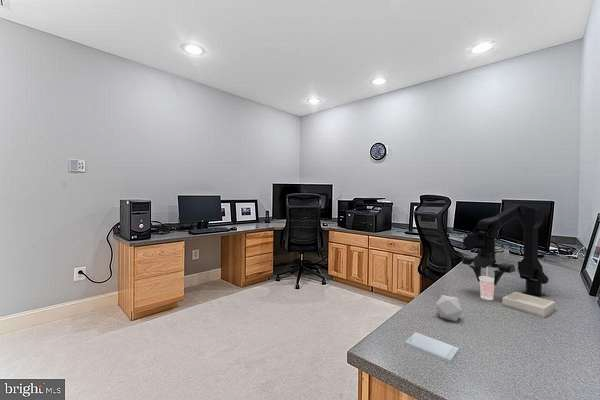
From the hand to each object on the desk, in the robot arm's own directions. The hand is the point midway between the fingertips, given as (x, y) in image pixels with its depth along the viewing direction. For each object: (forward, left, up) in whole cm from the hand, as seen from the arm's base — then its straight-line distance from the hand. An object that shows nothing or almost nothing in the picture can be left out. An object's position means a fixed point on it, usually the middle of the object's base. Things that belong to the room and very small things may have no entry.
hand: (487, 283), depth 117 cm
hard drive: (+59, +10, -7) cm, 60 cm away
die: (+35, +2, -7) cm, 36 cm away
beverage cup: (0, 0, -7) cm, 7 cm away
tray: (-2, +14, -6) cm, 16 cm away
